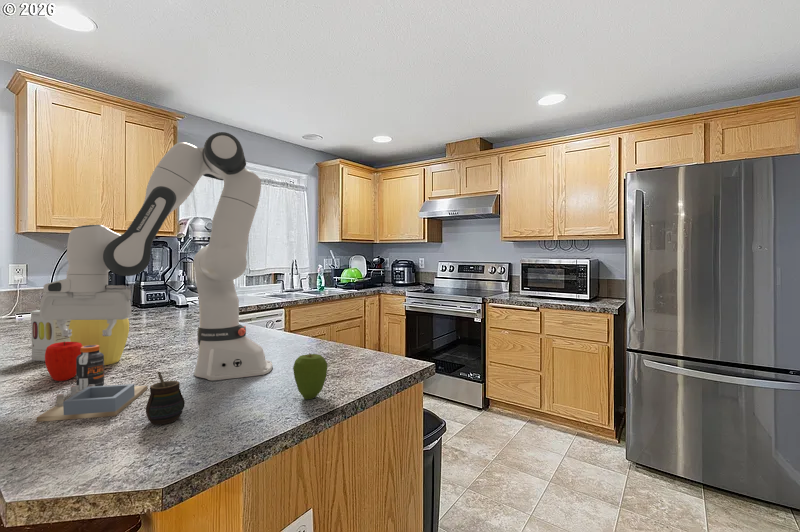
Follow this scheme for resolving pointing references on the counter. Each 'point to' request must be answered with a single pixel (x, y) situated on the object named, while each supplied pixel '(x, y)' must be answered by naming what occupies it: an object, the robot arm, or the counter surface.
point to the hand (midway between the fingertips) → (87, 336)
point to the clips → (73, 391)
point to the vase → (101, 337)
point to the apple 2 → (310, 374)
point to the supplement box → (44, 335)
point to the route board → (58, 413)
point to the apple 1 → (62, 360)
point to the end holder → (99, 399)
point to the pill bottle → (90, 367)
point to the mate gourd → (164, 402)
